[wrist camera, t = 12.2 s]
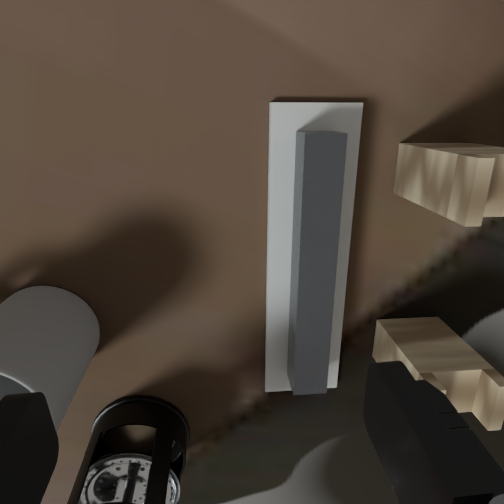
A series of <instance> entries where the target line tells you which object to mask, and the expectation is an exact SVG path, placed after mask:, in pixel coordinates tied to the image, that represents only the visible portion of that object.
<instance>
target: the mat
mask: <svg viewBox="0 0 504 504" xmlns="http://www.w3.org/2000/svg"><path fill="white" fill-rule="evenodd" d="M362 111H363V103H324V102H270V112H269V170H268V227H267V285H266V342H265V392H274V391H290V390H291V386H290V383H289V379H288V376H287V359H288V333H289V307H290V280H291V254H292V228H293V202H294V176H295V149H296V131H338V132H344V133H348V135H347V147H346V160H345V172H344V184H343V197H342V209H341V221H340V234H339V246H338V258H337V271H336V283H335V295H334V308H333V320H332V332H331V345H330V357H329V369H328V382H327V388H337V379H338V368H339V357H340V347H341V336H342V325H343V315H344V304H345V293H346V282H347V272H348V261H349V250H350V240H351V229H352V218H353V207H354V197H355V186H356V175H357V165H358V154H359V143H360V132H361V122H362Z"/></svg>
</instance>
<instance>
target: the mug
mask: <svg viewBox="0 0 504 504" xmlns="http://www.w3.org/2000/svg"><path fill="white" fill-rule="evenodd" d="M99 339H100V328H99V323H98V320H97V318H96V315H95V314H94V312H93V310H92V309H91V308H90V306H89V305H88V304H87V303H86V302H85V301H84V300H82V299H81V298H80V297H78V296H77V295H75V294H73V293H71V292H69V291H67V290H64V289H62V288H58V287H53V286H33V287H28V288H25V289H22V290H20V291H18V292H16V293H14V294H12V295H11V296H9V297H8V298H7V299H6V300H4V301H3V302H2V303H1V304H0V400H1V399H2V398H3V397H4V396H6V395H9V394H20V393H31V392H42V393H43V394H44V395H45V397H46V400H47V404H48V407H49V410H50V413H51V417H52V420H53V423H54V427H55V430H56V432H57V430H58V428H59V426H60V424H61V422H62V420H63V418H64V415H65V413H66V411H67V409H68V407H69V405H70V403H71V401H72V399H73V396H74V394H75V392H76V390H77V388H78V386H79V384H80V382H81V380H82V378H83V375H84V373H85V371H86V369H87V367H88V365H89V363H90V362H91V360H92V358H93V356H94V354H95V352H96V349H97V347H98V344H99Z"/></svg>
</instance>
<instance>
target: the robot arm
mask: <svg viewBox="0 0 504 504" xmlns="http://www.w3.org/2000/svg"><path fill="white" fill-rule="evenodd" d="M364 420H365V425H366V429H367V432H368V435H369V437H370V439H371V441H372V444H373V446H374V448H375V450H376V453H377V455H378V457H379V459H380V462H381V464H382V466H383V468H384V470H385V473H386V475H387V477H388V479H389V481H390V484H391V486H392V488H393V490H394V492H395V495H396V497H397V499H398V501H399V504H504V472H503V470H502V469H501V468H500V466H499V465H498V464H497V462H496V461H495V460H494V458H493V457H492V456H491V455H490V453H489V452H488V451H487V449H486V448H485V447H484V445H483V444H482V443H481V441H480V440H479V439H478V437H477V436H476V435H475V433H474V432H473V431H472V430H470V429H469V426H468V424H467V423H466V422H465V420H464V419H463V418H462V416H461V415H458V411H457V410H456V408H455V407H454V406H453V404H452V403H451V402H450V400H449V399H448V398H447V397H446V395H445V394H444V393H443V392H441V391H440V390H439V389H437V388H436V387H435V386H433V385H432V384H430V383H429V382H428V381H426V380H415V379H414V377H413V376H412V375H411V373H410V372H409V370H408V369H407V367H406V366H405V365H404V363H403V362H402V361H399V360H398V361H387V362H376V363H370V364H369V366H368V372H367V381H366V391H365V401H364ZM58 451H59V442H58V437H57V433H56V430H55V427H54V423H53V420H52V417H51V413H50V410H49V407H48V404H47V400H46V397H45V395H44V394H43V393H42V392H31V393H20V394H9V395H6V396H4V397H3V398H2V399H1V400H0V504H40V503H41V501H42V498H43V496H44V493H45V491H46V488H47V486H48V483H49V481H50V478H51V476H52V474H53V471H54V469H55V466H56V463H57V458H58Z"/></svg>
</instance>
